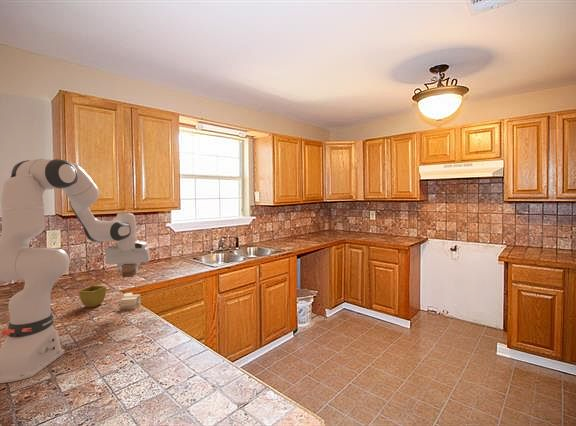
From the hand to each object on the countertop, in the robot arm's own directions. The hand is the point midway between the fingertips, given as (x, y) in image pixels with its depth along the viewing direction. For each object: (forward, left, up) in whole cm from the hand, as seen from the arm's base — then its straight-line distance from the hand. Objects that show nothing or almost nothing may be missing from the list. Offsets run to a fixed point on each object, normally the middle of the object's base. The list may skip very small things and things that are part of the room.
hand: (129, 271), depth 154 cm
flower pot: (+6, +20, -18) cm, 27 cm away
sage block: (+8, +4, -18) cm, 20 cm away
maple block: (0, 0, -18) cm, 18 cm away
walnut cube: (0, 0, -2) cm, 2 cm away
